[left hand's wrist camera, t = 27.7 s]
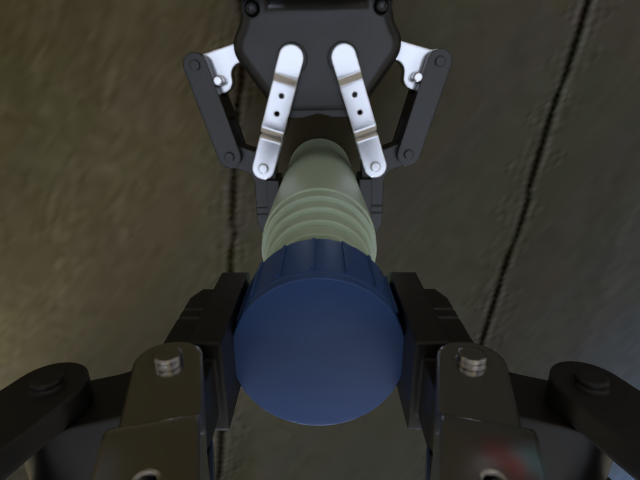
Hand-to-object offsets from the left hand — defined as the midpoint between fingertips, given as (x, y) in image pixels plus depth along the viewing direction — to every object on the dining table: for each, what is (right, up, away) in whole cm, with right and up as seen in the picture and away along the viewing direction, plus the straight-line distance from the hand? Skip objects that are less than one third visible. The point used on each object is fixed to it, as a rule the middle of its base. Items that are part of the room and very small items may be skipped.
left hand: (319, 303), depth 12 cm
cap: (0, -1, -2) cm, 2 cm away
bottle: (0, +7, +19) cm, 20 cm away
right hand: (0, +2, +13) cm, 14 cm away
